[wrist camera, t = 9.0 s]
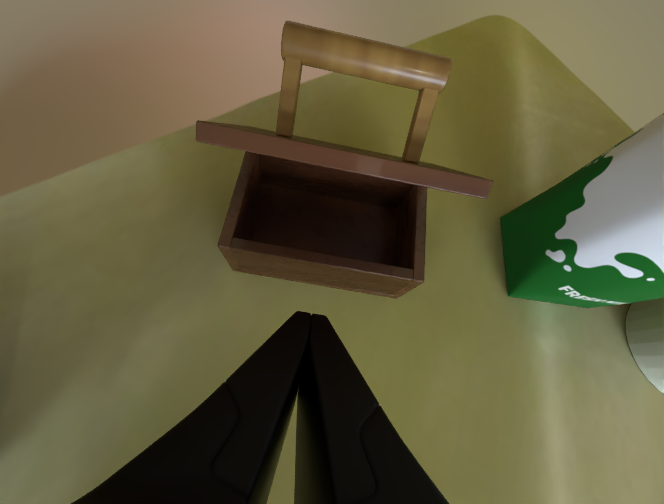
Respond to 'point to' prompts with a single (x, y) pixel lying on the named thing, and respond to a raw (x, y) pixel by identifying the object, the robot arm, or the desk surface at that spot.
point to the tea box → (325, 227)
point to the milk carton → (594, 230)
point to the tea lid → (362, 62)
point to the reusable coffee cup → (647, 338)
